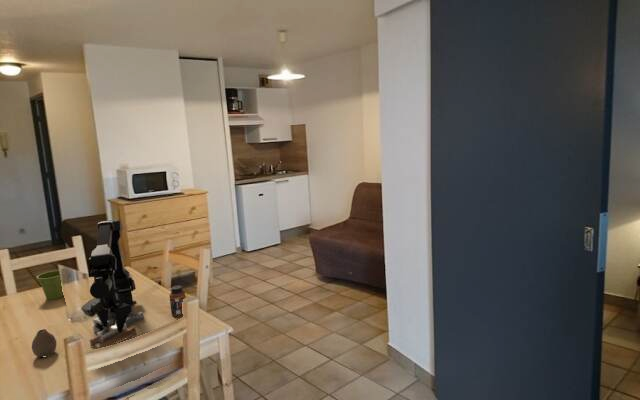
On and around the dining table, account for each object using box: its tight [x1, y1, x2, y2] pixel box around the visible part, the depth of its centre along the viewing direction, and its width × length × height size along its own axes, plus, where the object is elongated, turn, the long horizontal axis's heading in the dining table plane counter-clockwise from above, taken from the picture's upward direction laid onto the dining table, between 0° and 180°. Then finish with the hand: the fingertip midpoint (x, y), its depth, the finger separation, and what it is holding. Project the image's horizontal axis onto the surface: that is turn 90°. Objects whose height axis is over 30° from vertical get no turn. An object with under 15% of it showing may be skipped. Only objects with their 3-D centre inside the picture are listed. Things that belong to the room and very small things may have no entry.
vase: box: [31, 328, 57, 358], centre depth 138 cm, size 7×7×9 cm
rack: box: [89, 326, 137, 349], centre depth 147 cm, size 7×13×2 cm, turn 149°
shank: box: [96, 324, 128, 343], centre depth 146 cm, size 3×9×4 cm, turn 149°
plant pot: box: [36, 269, 64, 300], centre depth 190 cm, size 12×12×11 cm
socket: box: [92, 308, 145, 334], centre depth 158 cm, size 8×16×5 cm, turn 149°
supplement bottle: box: [169, 285, 186, 317], centre depth 164 cm, size 6×6×11 cm
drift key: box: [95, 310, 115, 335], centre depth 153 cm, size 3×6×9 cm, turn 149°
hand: (112, 329), depth 146 cm, fingers open, 9 cm apart
